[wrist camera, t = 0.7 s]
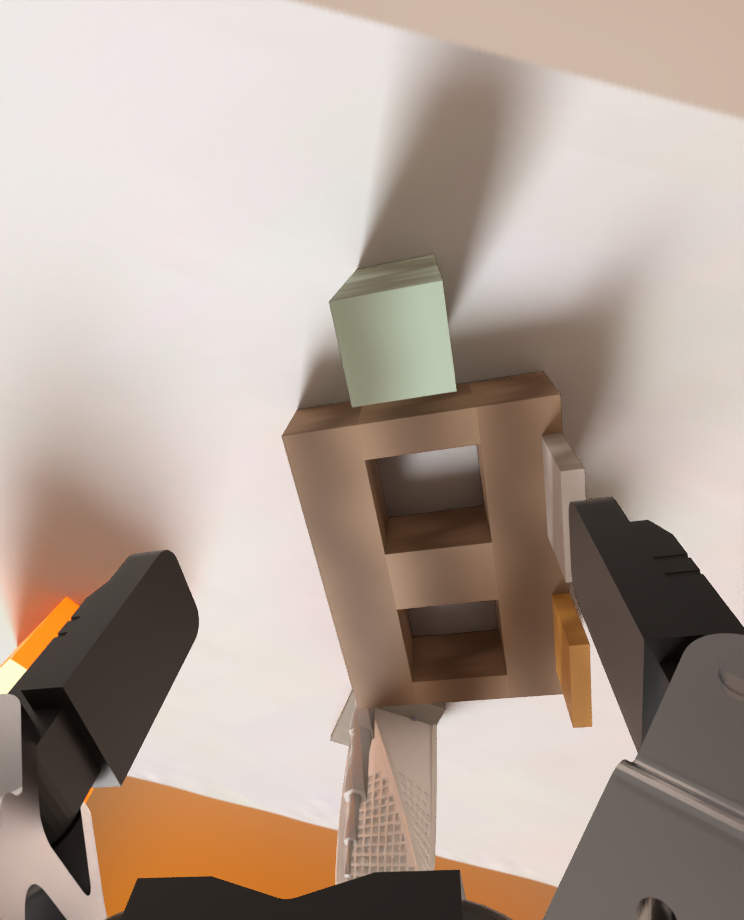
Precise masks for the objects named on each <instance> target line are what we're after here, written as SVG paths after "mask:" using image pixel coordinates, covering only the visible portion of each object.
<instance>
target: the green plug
mask: <svg viewBox="0 0 744 920" xmlns="http://www.w3.org/2000/svg"><path fill="white" fill-rule="evenodd" d="M329 304H330V309H331V313H332V318H333V322H334V327H335V332H336V336H337V341H338V345H339V350H340V355H341V359H342V364H343V369H344V373H345V378H346V382H347V387H348V392H349V396H350V401H351V405H352V407H358V406H365V405H371V404H377V403H384V402H390V401H397V400H403V399H410V398H416V397H422V396H429V395H435V394H442V393H448V392H455V391H457V389H456V382H455V374H454V366H453V359H452V351H451V343H450V335H449V328H448V320H447V312H446V305H445V297H444V289H443V281H442V278H441V275H440V272H439V269H438V266H437V262H436V259H435V256H434V254H433V255H428V256H422V257H417V258H412V259H407V260H402V261H397V262H391V263H386V264H381V265H376V266H371V267H366V268H360V269H357V270H356V271H355V272H354V273H353V274H352V276H351V277H350V278H349V279H348V280H347V281H346V282H345V284H344V285H343V286H342V287H341V288H340V289H339V291H338V292H337V293H336V294H335V295H334V296H333V298H332V299H331V300H330V301H329Z"/></svg>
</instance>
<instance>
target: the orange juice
mask: <svg viewBox="0 0 744 920" xmlns="http://www.w3.org/2000/svg"><path fill="white" fill-rule="evenodd" d="M79 607H80V606H79V605H77V604H76V603H75V602H73V601H72V600H70V599H69V598H67V597H65V598H64V599H63V600H62V601H61V602H60V604H59V605H58V606H57V607H56V608H55V609H54V610H53V611H52V612H51V613H50V614H49V615H48V616H47V617H46V618H45V619H44V620H43V621H42V622H41V623H40V624H39V625H38V626H37V627H36V628H35V629H34V631H33V632H32V633H31V634H30V635H29V636H28V637H27V638H26V639H25V640H24V641H23V642H22V643H21V644H20V645H19V646H18V647H17V648H16V649H15V650H14V652H13V653H12V654H11V655H10V656H9V657H8V658H7V659H6V660H5V662H4V663H3V664H2V665H1V666H0V694H7V693H8V692H9V691H10V690H11V689H12V687H13V686H14V685H15V684H16V683H17V681H18V680H19V679H20V678H21V677H22V675H23V674H24V673H25V672H26V671H27V669H28V668H29V667H30V666H31V664H32V663H33V662H34V661H35V660H36V658H37V657H38V656H39V655H40V654H41V652H42V651H43V650H44V649H45V648H46V646H47V645H48V644H49V643H50V642H51V640H52V639H53V638H54V637H58V632H59V631H60V630H61V628H62V627H63V626H64V625H65V624H66V622H67V621H71V616H72V615H73V614H74V613H75V611H76V610H77V609H78V608H79ZM93 789H94V788H91V789H90V791H89V793H88V795H87V796H86V798H85V800H84V802H85V803H86V801H87V799H88V798H89V795H90V794H91V792H92V790H93Z"/></svg>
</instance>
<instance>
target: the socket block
mask: <svg viewBox="0 0 744 920" xmlns="http://www.w3.org/2000/svg"><path fill="white" fill-rule="evenodd" d="M456 389H457V391H455V392H448V393H442V394H435V395H429V396H422V397H416V398H410V399H403V400H397V401H390V402H384V403H377V404H371V405H365V406H358V407H352V405H351V401H349V402H343V403H336V404H330V405H324V406H317V407H311V408H305V409H298V410H297V411H296V412H295V414H294V416H293V418H292V419H291V421H290V423H289V425H288V426H287V428H286V430H285V431H284V433H283V435H282V439H283V443H284V447H285V450H286V454H287V457H288V461H289V464H290V468H291V472H292V475H293V479H294V482H295V486H296V489H297V493H298V497H299V500H300V504H301V507H302V511H303V514H304V518H305V522H306V525H307V529H308V532H309V536H310V539H311V543H312V547H313V550H314V554H315V557H316V561H317V564H318V568H319V572H320V575H321V579H322V582H323V586H324V590H325V593H326V597H327V600H328V604H329V607H330V611H331V615H332V618H333V622H334V625H335V629H336V632H337V636H338V640H339V643H340V647H341V650H342V654H343V657H344V661H345V665H346V668H347V672H348V675H349V679H350V682H351V686H352V690H353V693H354V697H355V700H356V704H357V707H358V709H360V708H374V707H388V706H402V705H416V704H430V703H444V702H458V701H472V700H486V699H500V698H514V697H528V696H542V695H556V694H563V695H564V698H565V702H566V705H567V708H568V712H569V715H570V718H571V722H572V725H573V728H577V727H592V707H591V673H590V644H589V641H588V639H587V636H586V634H585V631H584V628H583V626H582V623H581V621H580V618H579V616H578V613H577V610H576V608H575V605H574V603H573V600H572V598H571V595H570V590H569V583H570V582H573V581H572V574H571V557H570V535H569V504H570V502H572V501H581V500H585V468H584V467H583V465H582V464H581V462H580V460H579V459H578V457H577V456H576V454H575V452H574V451H573V449H572V448H571V446H570V444H569V443H568V441H567V440H566V438H565V436H564V435H563V433H562V419H561V398H560V393H559V392H558V391H557V389H556V388H555V387H554V385H553V384H552V383H551V381H550V380H549V379H548V377H547V376H546V374H545V373H544V372H543V371H540V372H534V373H527V374H521V375H515V376H508V377H502V378H496V379H489V380H483V381H476V382H470V383H464V384H457V385H456ZM470 445H477V452H478V460H479V468H480V477H481V485H482V494H483V502H484V506H479V507H471V508H463V509H455V510H446V511H438V512H430V513H422V514H414V515H406V516H398V517H390V518H388V514H387V509H386V504H385V499H384V494H383V489H382V484H381V480H380V475H379V470H378V465H377V460H376V459H377V458H385V457H392V456H399V455H406V454H413V453H420V452H427V451H435V450H442V449H449V448H456V447H463V446H470ZM490 600H495V603H496V612H497V620H498V629H499V630H490V631H479V632H467V633H456V634H445V635H434V636H423V637H413V636H412V631H411V626H410V621H409V616H408V611H407V609H408V608H419V607H429V606H439V605H449V604H460V603H470V602H480V601H490Z"/></svg>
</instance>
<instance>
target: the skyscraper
mask: <svg viewBox="0 0 744 920" xmlns="http://www.w3.org/2000/svg"><path fill="white" fill-rule="evenodd" d="M445 709H446V706H445V704H443V703H430V704H416V705H402V706H388V707H374V708H360V709H358V707H357V704H356V700H355V697H354V693H353V690H352V692H351V694H350V696H349V698H348V700H347V702H346V705H345V707H344V709H343V711H342V713H341V715H340V718H339V720H338V722H337V724H336V726H335V728H334V730H333V733H332V735H331V739H330V741H334V742H337V743H340V744H344V745H347V746H349V750H348V756H347V763H346V770H345V776H344V783H343V790H342V798H341V807H340V816H339V827H338V839H337V857H336V885H337V884H340V883H343V882H346V881H349V880H352V879H355V878H359V877H362V876H365V875H368V874H371V873H374V872H398V871H434V867H435V841H436V796H437V723H438V721H439V719H440V718H441V716H442V714H443V713H444V711H445Z"/></svg>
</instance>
